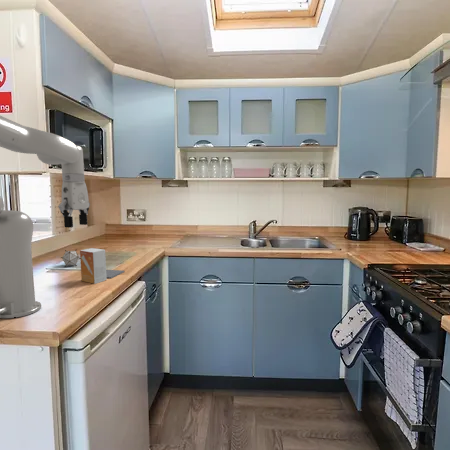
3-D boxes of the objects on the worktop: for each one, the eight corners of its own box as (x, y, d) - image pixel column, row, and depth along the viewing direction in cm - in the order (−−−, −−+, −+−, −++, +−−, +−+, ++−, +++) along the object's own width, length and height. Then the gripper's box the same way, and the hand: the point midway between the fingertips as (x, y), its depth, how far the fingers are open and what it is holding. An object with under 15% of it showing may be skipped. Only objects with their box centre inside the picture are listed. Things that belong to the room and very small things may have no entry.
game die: (67, 273, 164) (56, 257, 165) (83, 264, 170) (72, 248, 170) (69, 267, 157) (57, 250, 158) (85, 258, 162) (74, 242, 163)
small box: (81, 281, 137) (79, 250, 136) (94, 277, 143) (92, 247, 141) (94, 284, 133) (92, 252, 132) (107, 280, 139) (105, 249, 137)
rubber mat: (111, 278, 141) (111, 277, 141) (90, 277, 143) (90, 275, 143) (124, 271, 152) (124, 270, 152) (104, 270, 154) (104, 269, 154)
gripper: (66, 178, 115) (69, 229, 117) (96, 179, 132) (98, 223, 134) (47, 179, 117) (51, 228, 119) (79, 179, 134) (82, 223, 136)
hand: (76, 225), depth 126 cm, fingers open, 7 cm apart
